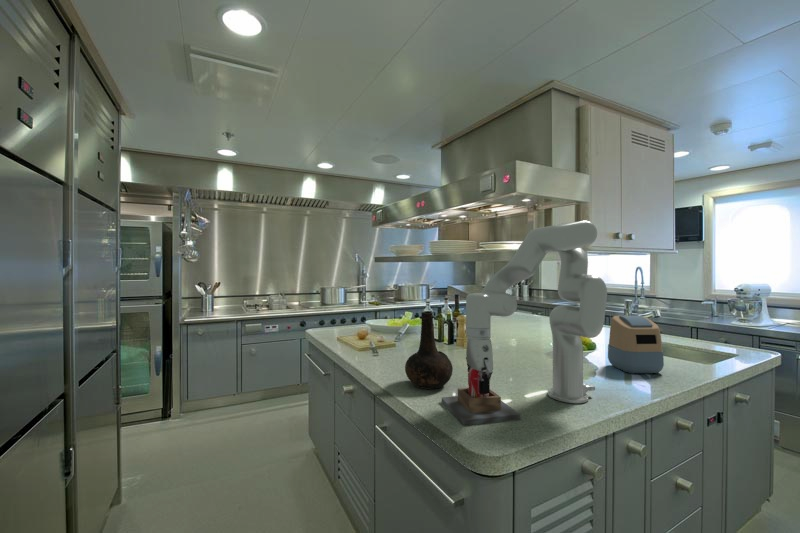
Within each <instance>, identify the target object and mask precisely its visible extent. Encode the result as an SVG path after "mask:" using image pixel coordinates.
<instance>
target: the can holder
mask: <svg viewBox="0 0 800 533" xmlns="http://www.w3.org/2000/svg"><path fill="white" fill-rule="evenodd" d="M441 403H442V404H443V405H444V407H445V408H446V409H447V410H448V411H449V412H450V413H451V415H453V417H455V418H456V419H457V421H458V422H459V423H460V424H461V425H462V426H472V425H473V426H474V425H482V424H488V423H489V424H490V423H499V422H508V421H509V422H510V421H516V420H517V421H518V420H521V413H519V412H518V411H516V410H515V409H514V408H512V407H511V406H509V405H508V404H507V403H505V402H504V401H503V400H502V399H501V396H500V394H497V393H496V392H494V391H493V390H492V389H490V393H489V396H488V397H478V398H472V397H471V396H470V395H469V387H464V388H463V387H461V388H457V395H453V396H443V397H441Z"/></svg>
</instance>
